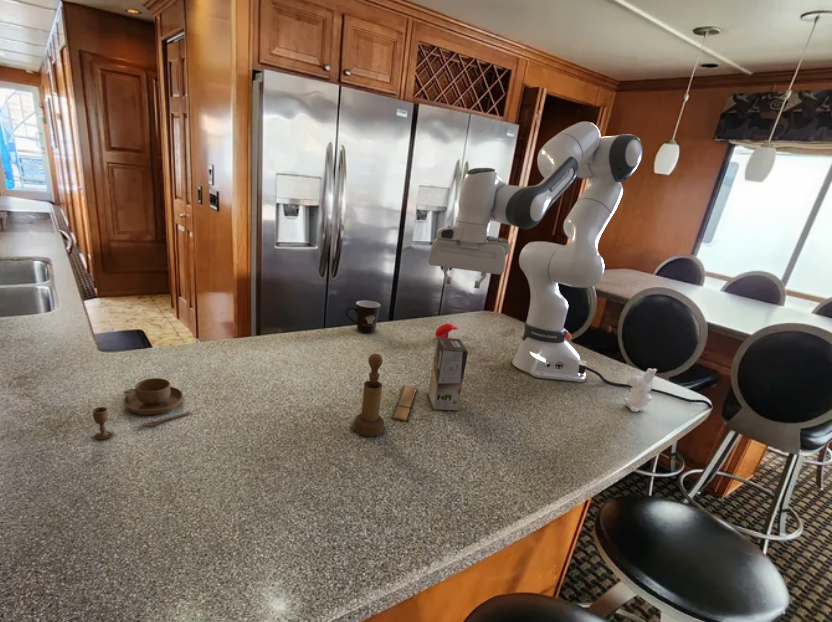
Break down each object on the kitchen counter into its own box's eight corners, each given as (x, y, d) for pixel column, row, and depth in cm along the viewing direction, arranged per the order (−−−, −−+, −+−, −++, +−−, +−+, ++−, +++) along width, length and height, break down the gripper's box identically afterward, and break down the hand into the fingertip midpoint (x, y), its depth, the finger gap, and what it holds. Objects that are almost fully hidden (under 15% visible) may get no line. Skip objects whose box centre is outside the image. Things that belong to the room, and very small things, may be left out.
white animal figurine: (634, 401, 130) (647, 363, 126) (656, 413, 125) (670, 373, 120) (614, 405, 127) (626, 365, 123) (635, 416, 121) (649, 376, 117)
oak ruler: (416, 389, 124) (416, 387, 123) (405, 421, 107) (406, 419, 107) (405, 387, 124) (405, 385, 124) (393, 418, 108) (393, 416, 107)
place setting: (199, 412, 102) (197, 388, 100) (99, 443, 88) (95, 416, 86) (164, 383, 112) (163, 361, 110) (70, 407, 98) (66, 382, 96)
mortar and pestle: (387, 425, 104) (395, 353, 98) (377, 439, 99) (386, 363, 92) (360, 418, 106) (366, 346, 100) (349, 431, 100) (355, 356, 94)
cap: (440, 343, 160) (443, 327, 157) (431, 337, 165) (433, 322, 162) (459, 342, 163) (461, 326, 161) (449, 336, 168) (452, 320, 166)
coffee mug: (378, 328, 169) (381, 302, 165) (376, 335, 161) (379, 308, 157) (347, 324, 169) (349, 298, 166) (343, 331, 161) (345, 304, 158)
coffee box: (458, 411, 114) (469, 351, 109) (433, 409, 114) (443, 350, 108) (450, 394, 123) (460, 338, 117) (427, 393, 122) (435, 336, 116)
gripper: (510, 237, 120) (500, 288, 125) (433, 228, 124) (427, 278, 129) (512, 240, 115) (501, 293, 120) (431, 230, 118) (424, 282, 123)
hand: (462, 285), depth 124 cm, fingers open, 6 cm apart
